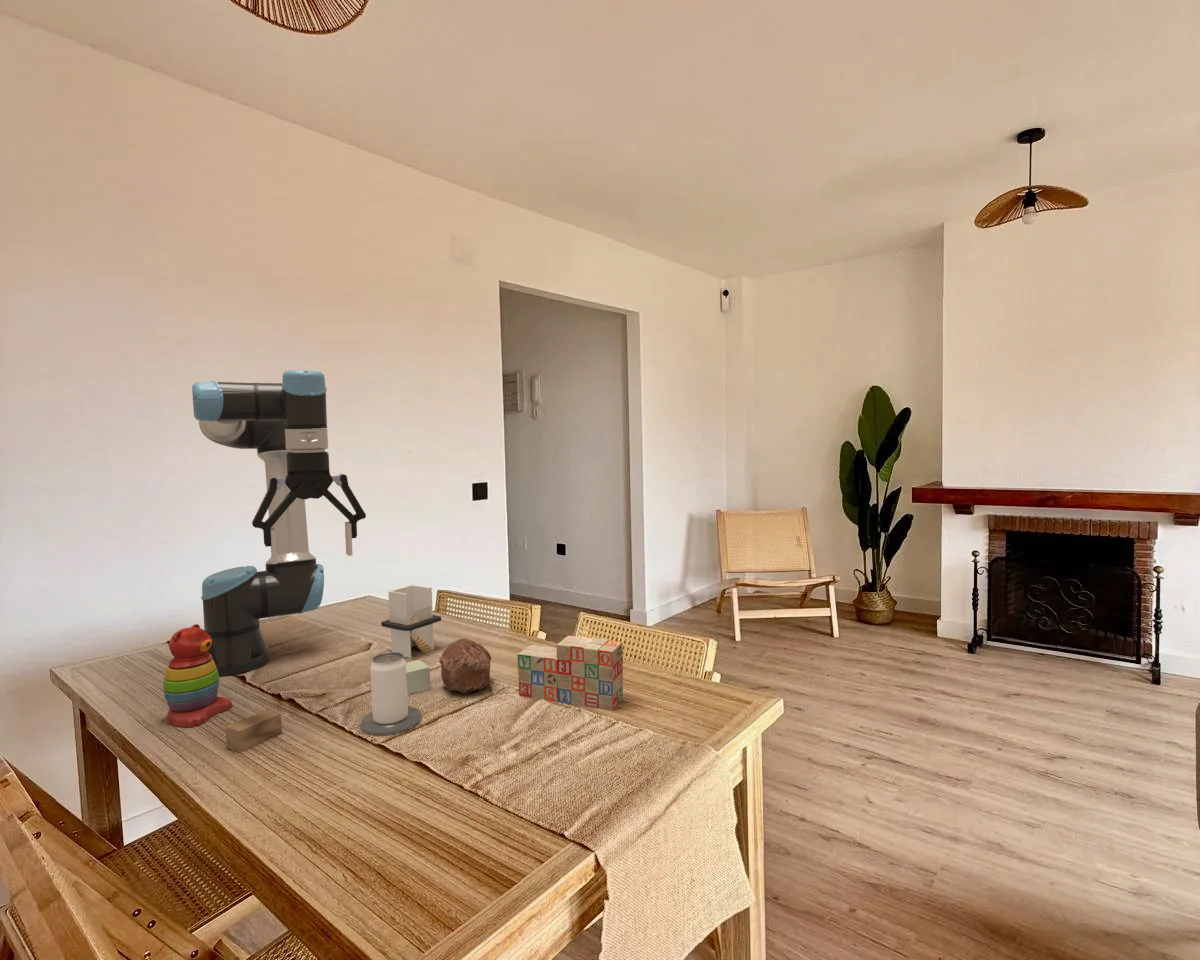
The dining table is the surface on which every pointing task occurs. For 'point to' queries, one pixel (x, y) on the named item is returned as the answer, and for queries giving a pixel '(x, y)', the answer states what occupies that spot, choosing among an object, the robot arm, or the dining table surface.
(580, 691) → the stack of blocks
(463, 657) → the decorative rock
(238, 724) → the walnut block
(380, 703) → the can
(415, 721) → the slate coaster
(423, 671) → the sage block
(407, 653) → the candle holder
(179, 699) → the stacking bear
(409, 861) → the dining table surface
